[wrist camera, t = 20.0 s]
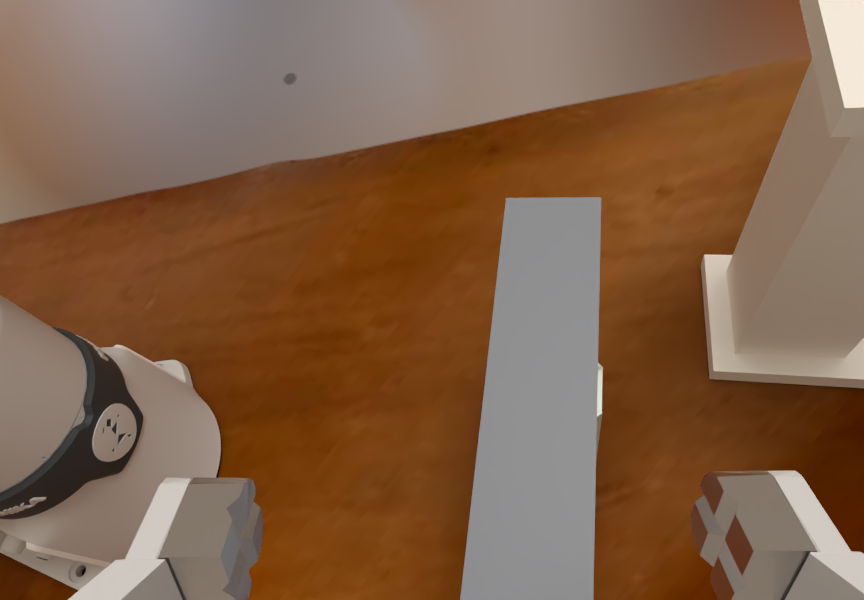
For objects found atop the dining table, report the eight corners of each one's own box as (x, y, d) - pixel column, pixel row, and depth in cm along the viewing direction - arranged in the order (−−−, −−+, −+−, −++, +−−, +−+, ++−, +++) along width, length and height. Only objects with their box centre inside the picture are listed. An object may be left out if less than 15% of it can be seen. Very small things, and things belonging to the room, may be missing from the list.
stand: (709, 379, 45) (844, 108, 23) (700, 264, 49) (805, -51, 27) (864, 388, 42) (1184, 95, 20) (839, 267, 47) (1077, -77, 25)
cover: (467, 606, 25) (459, 602, 24) (509, 220, 35) (506, 198, 33) (591, 626, 24) (592, 623, 22) (599, 220, 34) (601, 197, 32)
